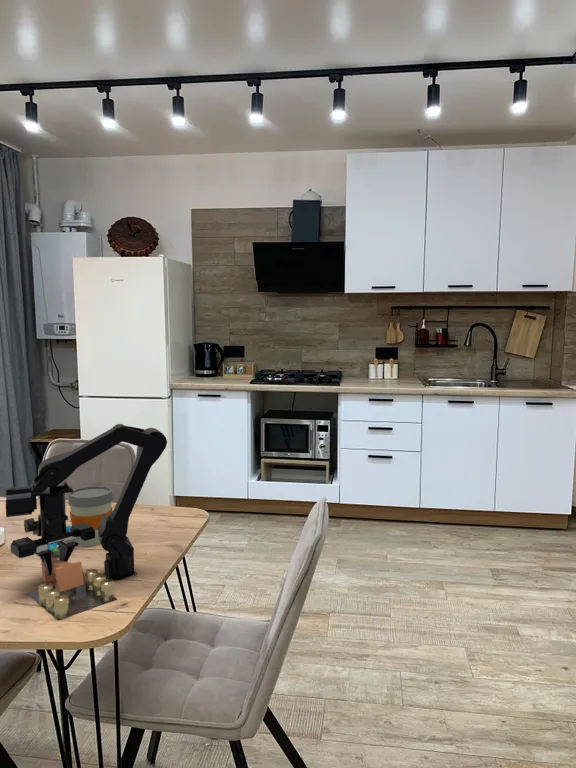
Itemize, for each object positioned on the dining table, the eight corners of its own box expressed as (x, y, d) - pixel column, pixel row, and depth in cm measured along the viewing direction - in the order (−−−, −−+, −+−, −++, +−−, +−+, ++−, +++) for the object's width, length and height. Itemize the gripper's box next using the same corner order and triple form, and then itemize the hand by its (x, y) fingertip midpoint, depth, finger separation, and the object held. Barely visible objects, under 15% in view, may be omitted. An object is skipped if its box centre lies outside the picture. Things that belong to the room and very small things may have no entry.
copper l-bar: (60, 576, 149) (57, 556, 149) (84, 584, 139) (81, 561, 140) (37, 583, 145) (34, 562, 145) (60, 592, 135) (57, 569, 136)
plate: (82, 577, 149) (82, 560, 149) (117, 601, 136) (117, 582, 136) (26, 595, 140) (25, 577, 139) (58, 623, 127) (57, 602, 126)
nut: (70, 585, 143) (70, 577, 143) (77, 592, 140) (77, 583, 140) (54, 590, 141) (53, 581, 141) (60, 597, 137) (60, 588, 137)
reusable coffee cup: (78, 552, 166) (76, 500, 164) (63, 539, 175) (61, 491, 174) (121, 542, 174) (119, 492, 172) (104, 530, 183) (102, 483, 182)
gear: (47, 541, 170) (70, 517, 169) (63, 553, 172) (86, 530, 171) (35, 561, 159) (61, 536, 159) (53, 574, 161) (78, 550, 160)
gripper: (75, 496, 154) (77, 553, 156) (0, 512, 141) (3, 574, 143) (95, 505, 147) (97, 565, 148) (18, 523, 133) (21, 589, 135)
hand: (55, 573), depth 144 cm, fingers closed on copper l-bar, 3 cm apart
